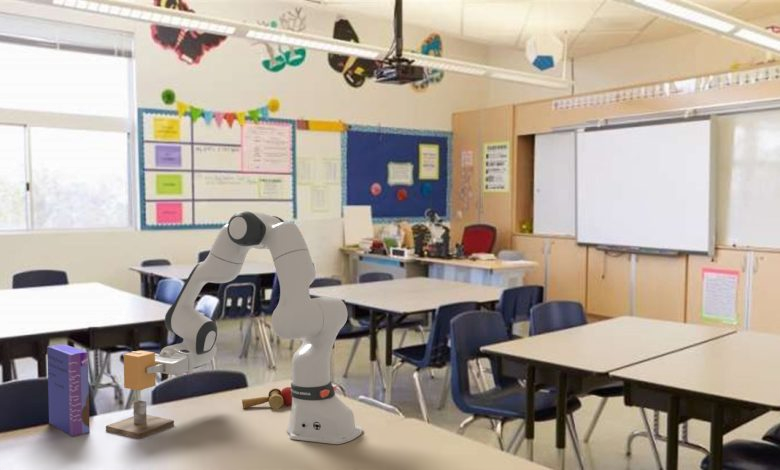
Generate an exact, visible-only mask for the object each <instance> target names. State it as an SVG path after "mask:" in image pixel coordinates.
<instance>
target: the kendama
mask: <svg viewBox="0 0 780 470" xmlns="http://www.w3.org/2000/svg"><path fill="white" fill-rule="evenodd" d="M241 403H242V409H243V408H244V409H249V408H251V407H255V406H258V405H259V406H260V405H262V404H263V405H264V404H266V403H268V405H269V407H270V408H271V409H273V410H274V409H280V408H282V406H283V405H284V406H292V397H291V386H287V387H284V388H283V389H281V390H280V389H279V388H278V387H274V388H271V389H270V390H269V391H268V396H260V397H259V396H258V397H253V398H243V399H241Z"/></svg>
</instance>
